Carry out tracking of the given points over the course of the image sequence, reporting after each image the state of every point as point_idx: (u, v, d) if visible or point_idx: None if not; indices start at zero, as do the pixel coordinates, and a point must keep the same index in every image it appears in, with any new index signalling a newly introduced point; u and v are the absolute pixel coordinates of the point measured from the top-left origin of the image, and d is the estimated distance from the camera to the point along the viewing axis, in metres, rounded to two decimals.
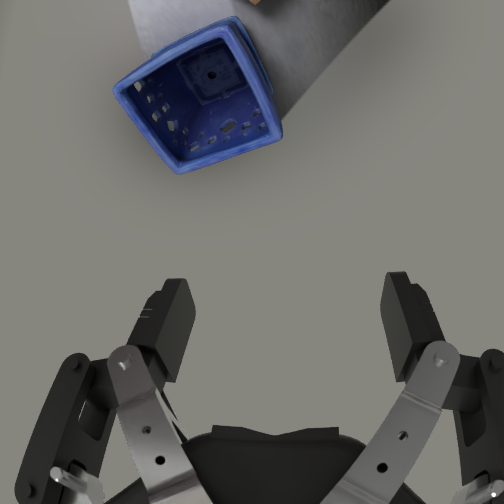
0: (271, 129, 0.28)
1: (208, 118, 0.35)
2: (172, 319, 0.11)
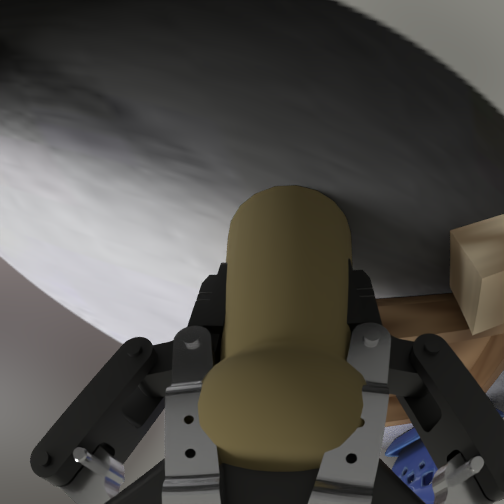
0: None
1: None
2: None
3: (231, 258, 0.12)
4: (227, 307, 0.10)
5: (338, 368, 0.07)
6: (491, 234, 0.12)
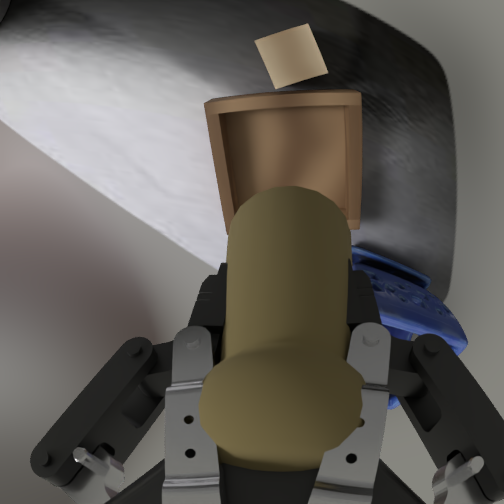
0: (455, 346, 0.22)
1: None
2: None
3: (231, 258, 0.12)
4: (227, 308, 0.10)
5: (338, 368, 0.07)
6: None
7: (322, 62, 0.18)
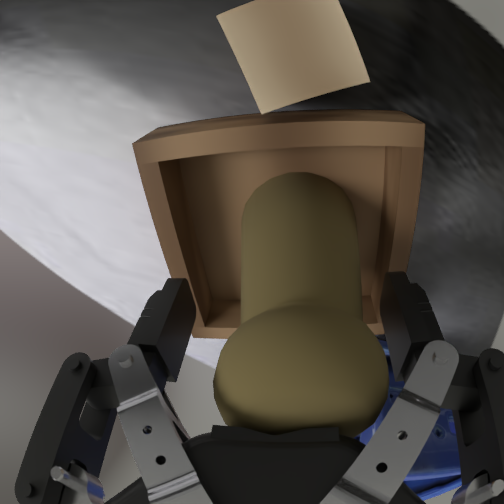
0: None
1: None
2: (173, 319, 0.11)
3: (249, 234, 0.13)
4: (247, 277, 0.11)
5: (356, 323, 0.08)
6: None
7: (358, 59, 0.08)
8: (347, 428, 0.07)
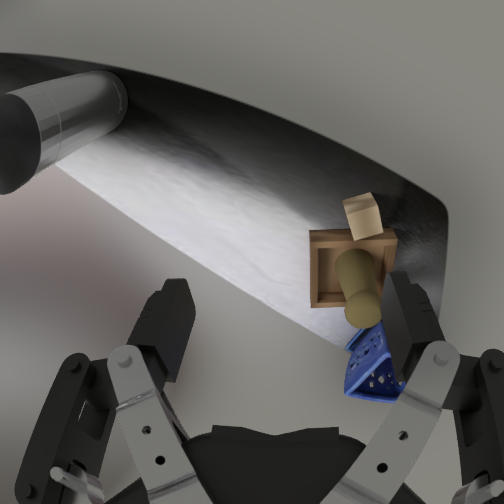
0: None
1: None
2: (172, 319, 0.11)
3: (344, 271, 0.41)
4: (347, 284, 0.39)
5: (376, 294, 0.36)
6: (358, 200, 0.38)
7: (381, 227, 0.37)
8: (376, 317, 0.35)
